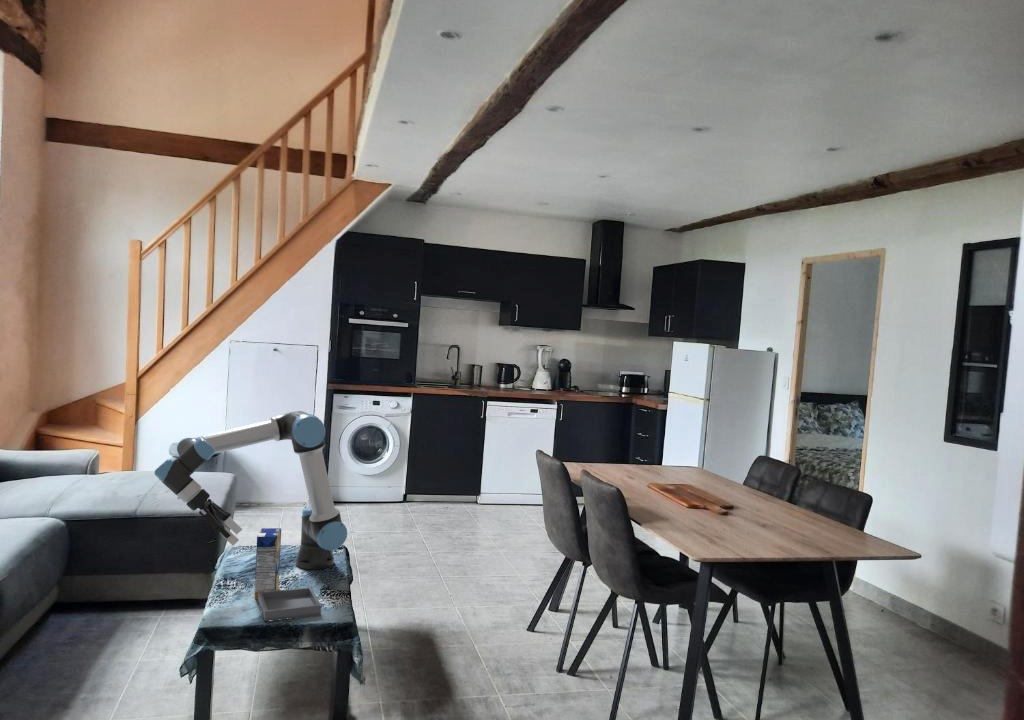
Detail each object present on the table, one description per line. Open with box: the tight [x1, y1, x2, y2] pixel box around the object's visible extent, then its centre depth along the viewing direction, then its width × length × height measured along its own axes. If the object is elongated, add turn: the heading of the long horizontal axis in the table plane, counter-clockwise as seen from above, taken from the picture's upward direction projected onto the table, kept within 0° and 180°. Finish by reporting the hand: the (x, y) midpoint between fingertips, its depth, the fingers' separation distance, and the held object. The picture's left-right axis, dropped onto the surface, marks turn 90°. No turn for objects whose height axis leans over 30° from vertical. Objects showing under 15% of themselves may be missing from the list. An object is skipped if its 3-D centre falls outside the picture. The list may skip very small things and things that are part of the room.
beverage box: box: [254, 527, 282, 599], centre depth 263 cm, size 7×11×22 cm, turn 10°
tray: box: [257, 586, 322, 621], centre depth 249 cm, size 18×18×4 cm
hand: (238, 537), depth 259 cm, fingers open, 13 cm apart
